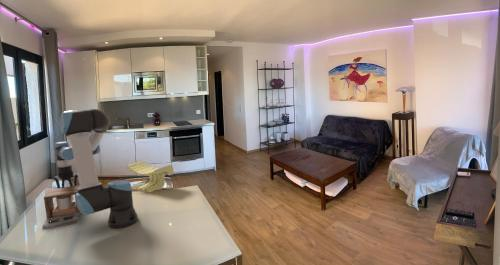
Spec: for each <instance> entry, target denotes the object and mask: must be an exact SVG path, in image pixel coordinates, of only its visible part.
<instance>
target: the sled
mask: <svg viewBox="0 0 500 265" xmlns="http://www.w3.org/2000/svg"><path fill="white" fill-rule="evenodd" d="M73 213H77V208H76V201H75V200H73V201H72V208H68V209H62V210H58V206H57V204H54V209H53V211H52V217H56V216H62V215H68V214H73Z"/></svg>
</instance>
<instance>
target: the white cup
mask: <svg viewBox="0 0 500 265" xmlns="http://www.w3.org/2000/svg"><path fill="white" fill-rule="evenodd" d="M55 200H56V205H57V206H58V210H62V209H68V208H73V207H72V197H71V195H69V196H62V197H56V198H55Z"/></svg>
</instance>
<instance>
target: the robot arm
mask: <svg viewBox="0 0 500 265" xmlns="http://www.w3.org/2000/svg"><path fill="white" fill-rule="evenodd" d="M110 126H111V121H110V118H109V116H108V115H107V113H105V112H104V111H102V110H100V109H98V108H90V109H75V110H73V109H72V110H65V111H63V112H62V113H61V115H60V117H59V129H60V133H61V134H62V135H65V137H66V139H67V140H69V141H70V144H71V146H70V144H69V142H68V141H58V142H55V143H54V150H55V156H56V164H57V171H58V174H57V175H56V176H54V177H53V180H54V181H55V184H56V189H58V188H65V184H66V180H67V181H68V184H69V187H72V186H78V183H79V185H80V187H79V188H78V189H77V191H78V193H76V194H75V195H71V197H72V201H73V202H75V201H76V204H77V207H78V209H79V211H80V214H82V215H84V216H87V215H91V214H95V213H98V212H101V211H105V210H108V209H109V210H110V211H109V215H108V219H107V226H108V227H109V228H111V229H122V228H127V227H130V226H133V225H134V224H136V223H137V222H138V220H139V218H138V217H139V216H138V213H137V211H136V209H135V207H134V201H133V189H132V184H131V182H129V181H127V180H121V179H120V180H119V179H118V180H112V181H109V182H107V184H106V186H104V185H103V183H102V182H100V181H99V178H98V172H97V169H96V163H95V158H94V156H95V155H98V154H100V152H101V147H100V143H101V140H102V138H103V137H104V134H105V133H106V132H107V131H108V130H109V128H110ZM72 160H74V164H75V169H76V173H74V171H73V166H72ZM73 177H74V179H73V181H72V178H73ZM59 179H61V184H60V181H59ZM73 182H74V183H73Z"/></svg>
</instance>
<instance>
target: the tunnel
mask: <svg viewBox="0 0 500 265" xmlns="http://www.w3.org/2000/svg"><path fill="white" fill-rule="evenodd" d="M79 187H80V184H79V185H77V186H75V185H73V186H72V187H70V186H67V187H64V188H62V187H60V188H53V189H48V191H47V192H46V193H45V195H44V196H43V201H44V202H43V203H44V208H45V209H44V210H45V213H46V214H45V215H46V218H45V220H44V222H43V224H42V225H41V226H42V227H41V228H42V229H43V228H44V229H48V228H47V227H50V228H53V227H52V226H55V227H60V226H59V225H61V226H65V224H66V225H70V223H71V224H77V223H78V220H79V217H80V214H81V212H80V211H79V209H78V207H77V204H76V208H77V211H76V213H71V214H65V215H59V216H54V217H53V215H52V211H53V209H54V207H55V204H54V198H55V199H56V197H62V196H69V195H73V196H75V194H76V193H78V191H77V189H78V188H79ZM50 221H51V222H50ZM76 222H77V223H76Z"/></svg>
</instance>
